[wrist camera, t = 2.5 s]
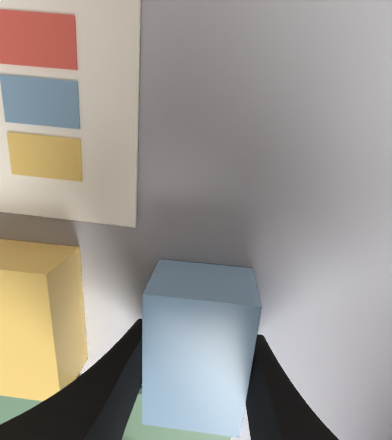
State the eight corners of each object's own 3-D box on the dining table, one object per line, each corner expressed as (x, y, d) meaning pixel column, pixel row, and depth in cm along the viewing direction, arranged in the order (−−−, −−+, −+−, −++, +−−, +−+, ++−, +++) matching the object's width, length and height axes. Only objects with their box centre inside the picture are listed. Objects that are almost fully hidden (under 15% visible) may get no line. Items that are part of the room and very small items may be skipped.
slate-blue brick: (252, 268, 13) (261, 306, 10) (236, 380, 15) (239, 437, 12) (159, 259, 13) (142, 294, 10) (156, 370, 16) (141, 424, 13)
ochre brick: (82, 244, 14) (46, 274, 11) (89, 355, 16) (61, 403, 13) (-3, 236, 14) (-60, 263, 11) (16, 345, 16) (-28, 391, 13)
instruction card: (141, -41, 10) (139, -47, 9) (136, 226, 13) (134, 228, 13) (-73, -55, 10) (-82, -60, 10) (-27, 207, 13) (-32, 208, 13)
